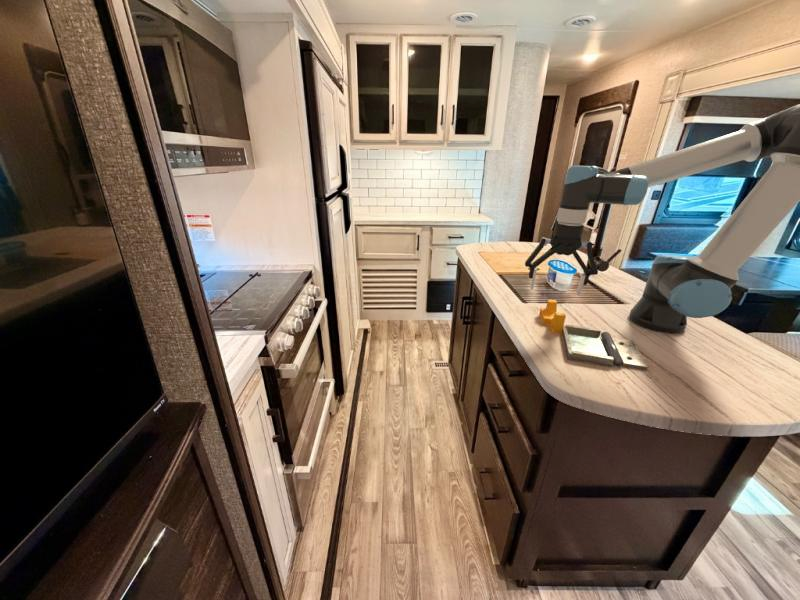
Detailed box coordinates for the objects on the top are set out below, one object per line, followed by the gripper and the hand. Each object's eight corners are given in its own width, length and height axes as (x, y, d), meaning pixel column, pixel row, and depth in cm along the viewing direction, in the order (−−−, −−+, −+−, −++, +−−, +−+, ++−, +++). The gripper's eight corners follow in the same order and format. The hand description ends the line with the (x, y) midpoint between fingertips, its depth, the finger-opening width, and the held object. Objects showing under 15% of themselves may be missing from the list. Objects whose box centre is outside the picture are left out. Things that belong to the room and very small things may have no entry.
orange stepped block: (538, 316, 112) (542, 299, 110) (552, 317, 112) (555, 300, 109) (546, 332, 101) (550, 314, 99) (561, 334, 101) (565, 315, 98)
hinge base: (630, 341, 97) (632, 334, 96) (649, 373, 82) (652, 365, 81) (561, 330, 102) (562, 324, 101) (567, 359, 88) (569, 352, 87)
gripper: (615, 224, 93) (596, 292, 101) (524, 218, 100) (513, 281, 109) (622, 229, 86) (601, 301, 95) (524, 222, 94) (513, 289, 102)
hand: (554, 290), depth 102 cm, fingers open, 13 cm apart
